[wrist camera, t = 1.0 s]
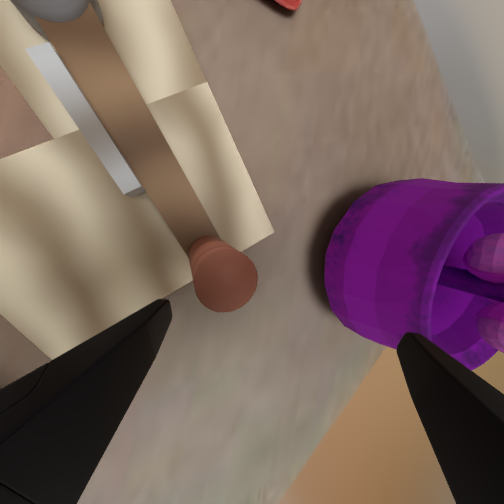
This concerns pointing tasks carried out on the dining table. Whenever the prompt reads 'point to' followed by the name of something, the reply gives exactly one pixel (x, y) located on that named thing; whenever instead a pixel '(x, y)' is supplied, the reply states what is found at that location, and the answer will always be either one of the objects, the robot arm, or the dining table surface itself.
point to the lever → (131, 140)
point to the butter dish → (289, 4)
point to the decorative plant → (422, 266)
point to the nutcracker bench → (110, 187)
